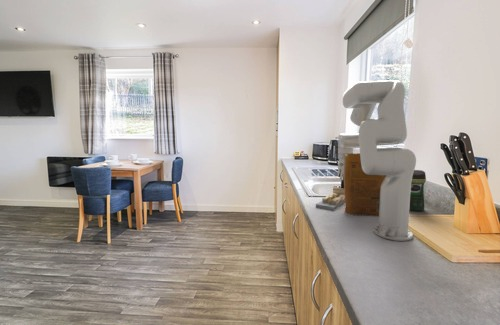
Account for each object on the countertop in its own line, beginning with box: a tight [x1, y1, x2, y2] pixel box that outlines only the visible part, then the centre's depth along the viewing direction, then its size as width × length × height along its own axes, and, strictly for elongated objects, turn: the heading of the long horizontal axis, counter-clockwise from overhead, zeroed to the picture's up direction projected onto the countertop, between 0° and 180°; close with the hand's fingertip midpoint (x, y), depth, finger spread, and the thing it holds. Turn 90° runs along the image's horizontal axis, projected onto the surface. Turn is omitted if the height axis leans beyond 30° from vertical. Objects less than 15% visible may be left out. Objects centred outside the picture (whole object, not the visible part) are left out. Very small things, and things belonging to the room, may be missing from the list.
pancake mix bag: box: [343, 152, 387, 217], centre depth 117 cm, size 7×19×28 cm, turn 77°
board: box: [315, 192, 345, 211], centre depth 135 cm, size 20×9×5 cm, turn 140°
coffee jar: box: [409, 169, 427, 212], centre depth 123 cm, size 10×8×19 cm
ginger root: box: [321, 186, 345, 204], centre depth 136 cm, size 14×7×5 cm, turn 140°
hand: (344, 189), depth 146 cm, fingers closed
